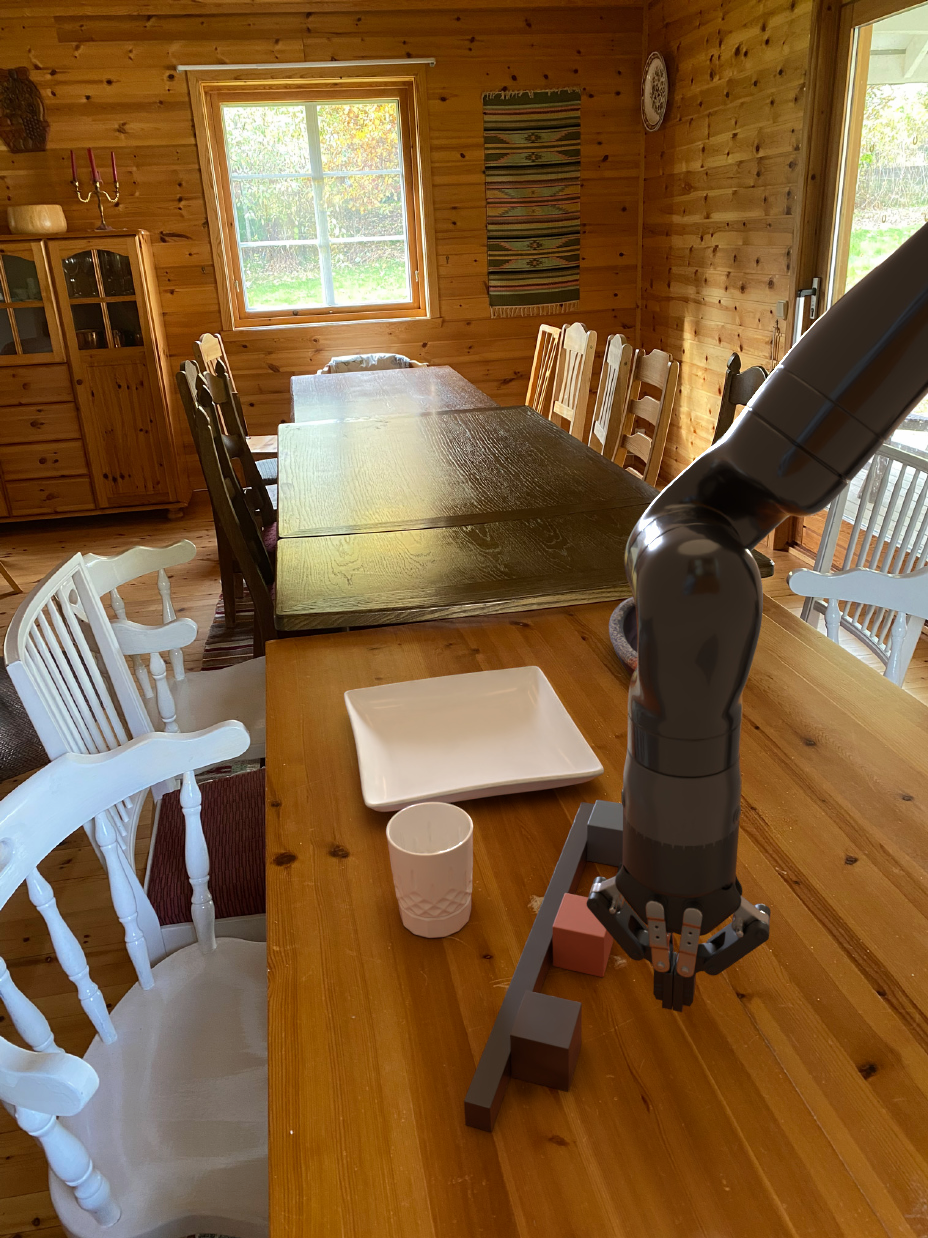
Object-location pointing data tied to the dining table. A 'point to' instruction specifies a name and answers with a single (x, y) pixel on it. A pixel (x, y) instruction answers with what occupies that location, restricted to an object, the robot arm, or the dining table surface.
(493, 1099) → the rail
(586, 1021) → the dining table surface
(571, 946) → the terracotta block
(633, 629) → the dish
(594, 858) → the slate block
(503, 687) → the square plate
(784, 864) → the dining table surface
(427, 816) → the white cup
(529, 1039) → the walnut block
